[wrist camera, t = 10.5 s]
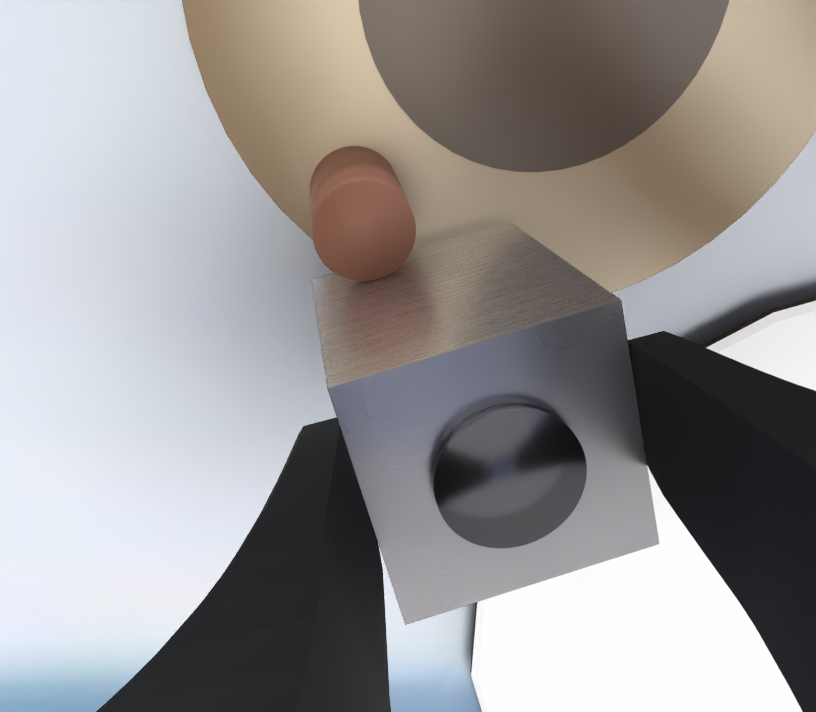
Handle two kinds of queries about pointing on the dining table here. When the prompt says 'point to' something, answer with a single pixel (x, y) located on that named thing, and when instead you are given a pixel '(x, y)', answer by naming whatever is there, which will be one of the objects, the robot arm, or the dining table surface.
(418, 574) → the grey block
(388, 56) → the turntable
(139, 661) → the dining table surface
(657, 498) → the plate
